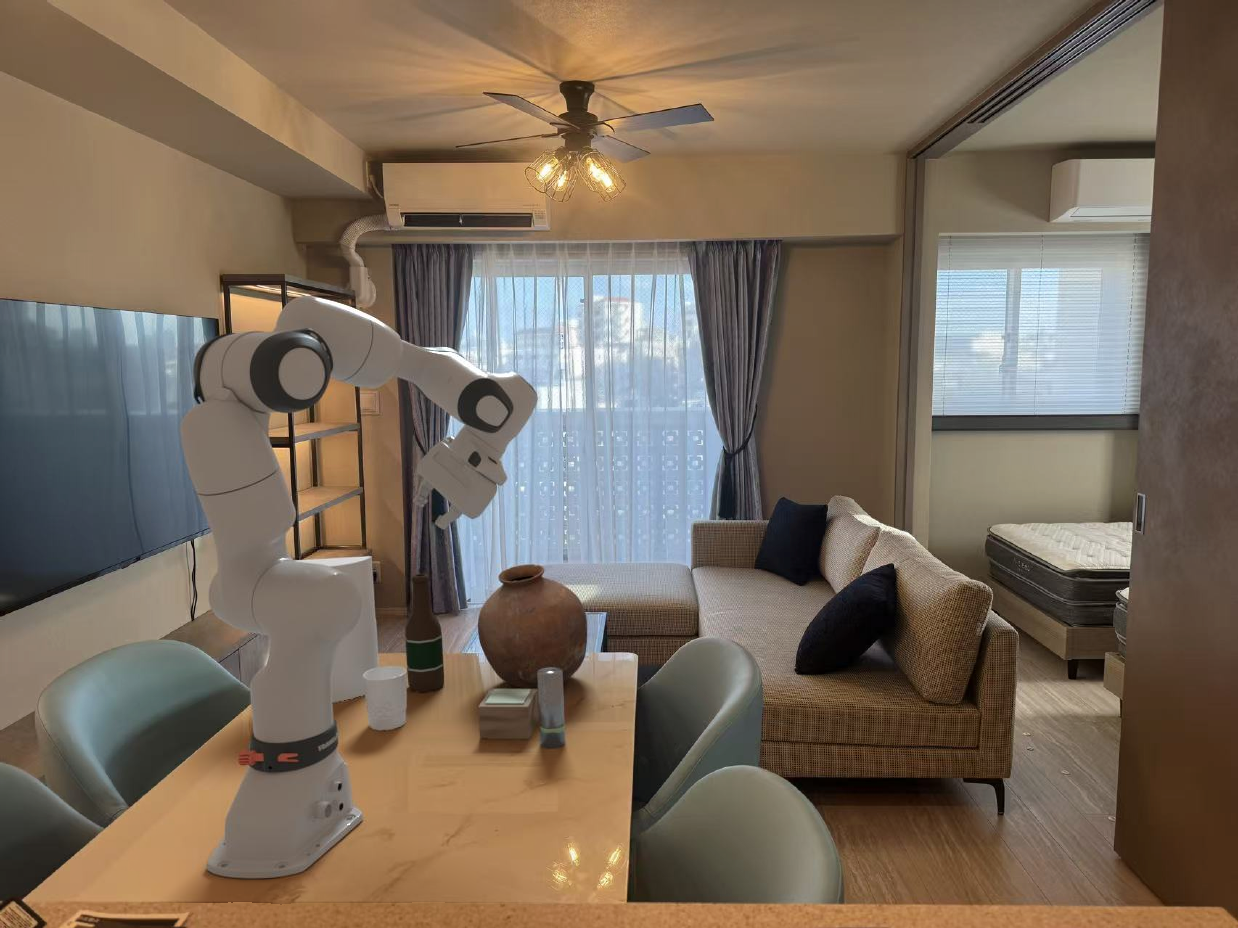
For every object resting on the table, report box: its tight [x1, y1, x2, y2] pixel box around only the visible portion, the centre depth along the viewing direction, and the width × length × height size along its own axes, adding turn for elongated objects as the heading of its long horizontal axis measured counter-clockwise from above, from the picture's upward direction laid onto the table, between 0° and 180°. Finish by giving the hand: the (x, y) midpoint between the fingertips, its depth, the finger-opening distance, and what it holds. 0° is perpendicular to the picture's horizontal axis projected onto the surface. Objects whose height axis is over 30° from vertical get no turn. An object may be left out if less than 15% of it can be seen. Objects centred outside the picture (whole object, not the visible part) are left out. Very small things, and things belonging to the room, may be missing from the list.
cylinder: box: [293, 555, 380, 703], centre depth 184 cm, size 17×17×28 cm
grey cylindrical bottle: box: [537, 667, 566, 749], centre depth 153 cm, size 5×5×13 cm
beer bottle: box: [404, 573, 445, 693], centre depth 184 cm, size 8×8×24 cm
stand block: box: [477, 688, 539, 740], centre depth 161 cm, size 9×9×6 cm
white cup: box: [363, 665, 408, 732], centre depth 165 cm, size 8×8×10 cm
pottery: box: [477, 563, 588, 689], centre depth 183 cm, size 23×23×25 cm
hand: (428, 515), depth 158 cm, fingers open, 8 cm apart
